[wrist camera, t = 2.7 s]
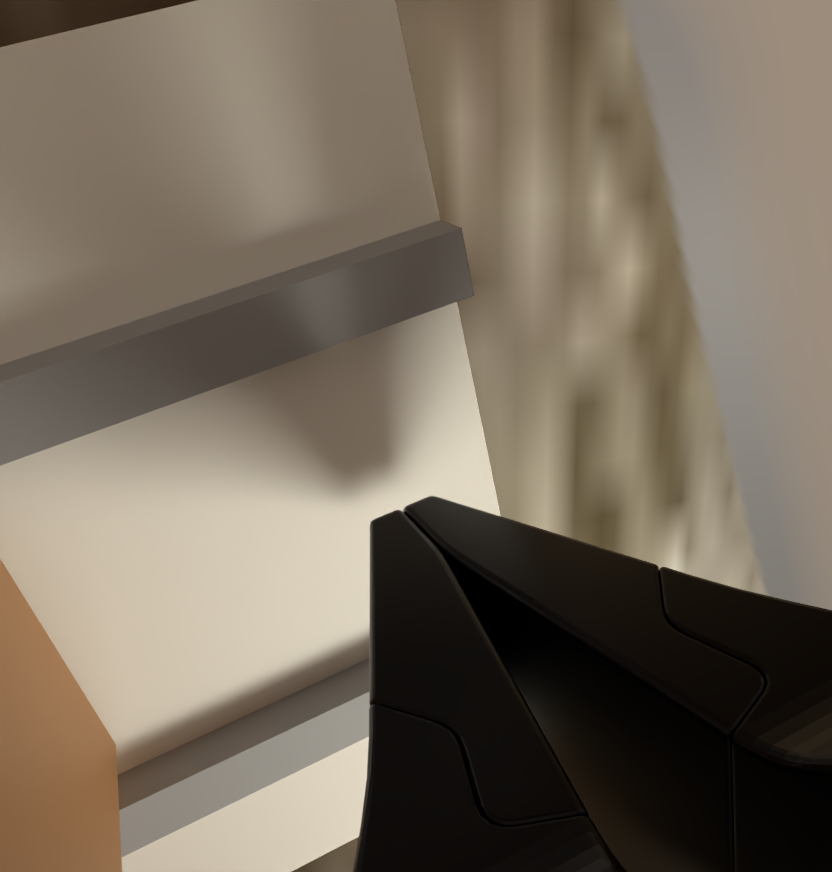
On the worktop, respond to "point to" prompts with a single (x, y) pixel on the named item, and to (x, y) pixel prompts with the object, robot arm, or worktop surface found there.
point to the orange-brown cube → (50, 756)
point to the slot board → (224, 398)
